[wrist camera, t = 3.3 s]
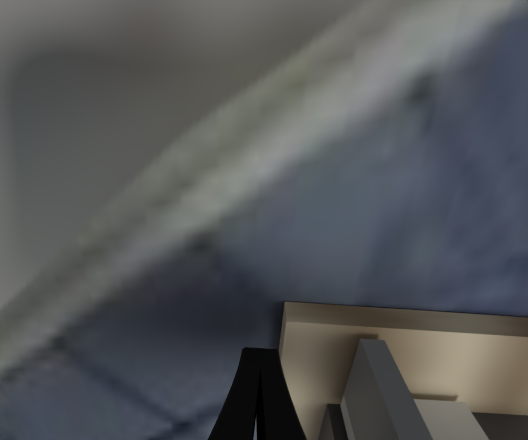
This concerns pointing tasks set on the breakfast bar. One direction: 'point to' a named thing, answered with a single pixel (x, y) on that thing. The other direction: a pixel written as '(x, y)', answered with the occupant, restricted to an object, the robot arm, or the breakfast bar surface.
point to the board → (405, 356)
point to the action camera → (494, 425)
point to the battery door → (397, 404)
